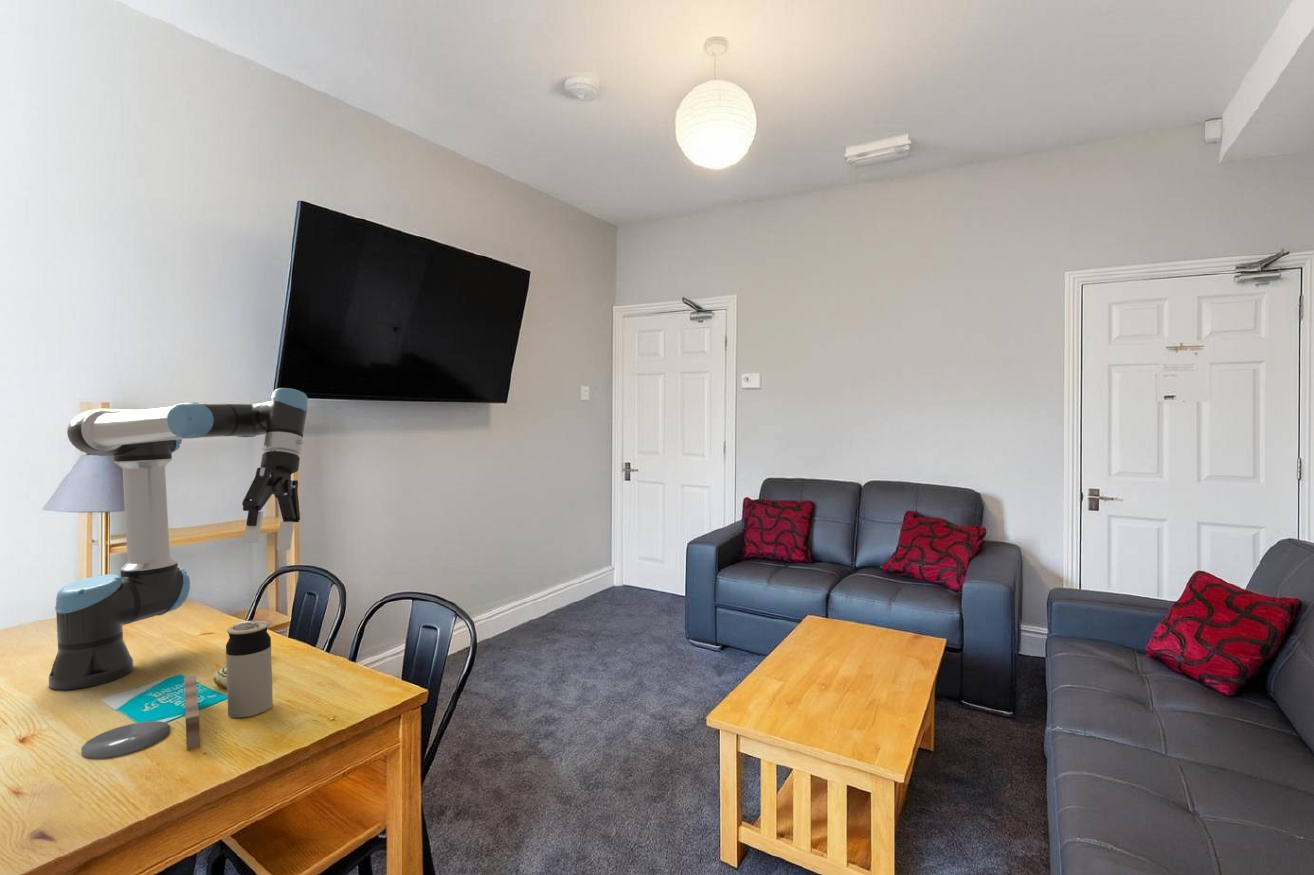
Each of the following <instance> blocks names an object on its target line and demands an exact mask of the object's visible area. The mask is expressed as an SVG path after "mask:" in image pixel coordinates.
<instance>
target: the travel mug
mask: <svg viewBox="0 0 1314 875" xmlns="http://www.w3.org/2000/svg"><path fill="white" fill-rule="evenodd" d="M249 621H250V622H245V621H243V622H244V623H240V622H239V623H240V624H238V623H236V624H234V625H231V626H229V627H228V628H226V633H227V634H228V637H229V639H228V640H227V642H226V643H225V644H226V645H225V659H226V660H225V661H226V662H225V663H226V666H225V667H227V689H226V690H227V691H226V692H227V693H226V696H227V714H228V716H230V717H232V718H235V719H236V718H238V719H240V718H241V719H243V718H244V719H245V718H249V717H250V718H251V717H255V716H257V715H260V714H263V713H264V712H266V711H268V710H269V709H271V707H272V706H273V705H274V704H273V703H274V701H273V698H274V697H273V669H272V667H273V666H272V639H271V636H270V634H269V633H268V627H269V625H270V623H269V622H268V621H267V620H266V621H265V620H249Z"/></svg>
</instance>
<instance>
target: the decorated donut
mask: <svg viewBox="0 0 1314 875" xmlns="http://www.w3.org/2000/svg"><path fill="white" fill-rule="evenodd" d="M212 677H213V678H212V679H213V682H214V683H215V685H216V686H217V687H218V688H219V689H223V690H227V667H226V666H223V667H221V668H219V669H217V670H216V671H215V673H214V674H213V676H212Z"/></svg>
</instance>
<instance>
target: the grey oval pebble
mask: <svg viewBox="0 0 1314 875" xmlns="http://www.w3.org/2000/svg"><path fill="white" fill-rule="evenodd" d="M169 731H171V726H170V724H169V723H168V722H165V721H161V720H154V721H153V720H148V721H139V722H136V723H135V722H134V723H129V724H125V725H122V726H119V727H114V728H113V729H110V730H107V731H104V732H102V733H100V734H98V735H96V736H94V737H92V738H90V739H89V740H87V741H86V742H85V743H84V744H83V745H82V746H81V749H80V751H81V755H82V757H84V758H87V759H95V760H96V759H97V760H102V759H110V758H116V757H121V756H125V755H129V754H133V753H135V752H138V751H141V750H143V749H144V750H145V749H146V748H148V747H151V746H153V745H155V744H157V743H159V742H160V741H162V740H164V739H165V738H166V737H168V735H169V734H168V733H170V732H169Z"/></svg>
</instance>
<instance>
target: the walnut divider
mask: <svg viewBox="0 0 1314 875" xmlns="http://www.w3.org/2000/svg"><path fill="white" fill-rule="evenodd" d="M183 686H184V687H183V688H184V710H185V740H186V742H185V743H186V751H191V750H195V749H199V748H200V747H201V740H200V739H201V738H200V735H201V733H200V711H199V700H198V689H197V688H198V687H197V677H196V674H193V675H191V676H190V675H189V676H185V677H183Z"/></svg>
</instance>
